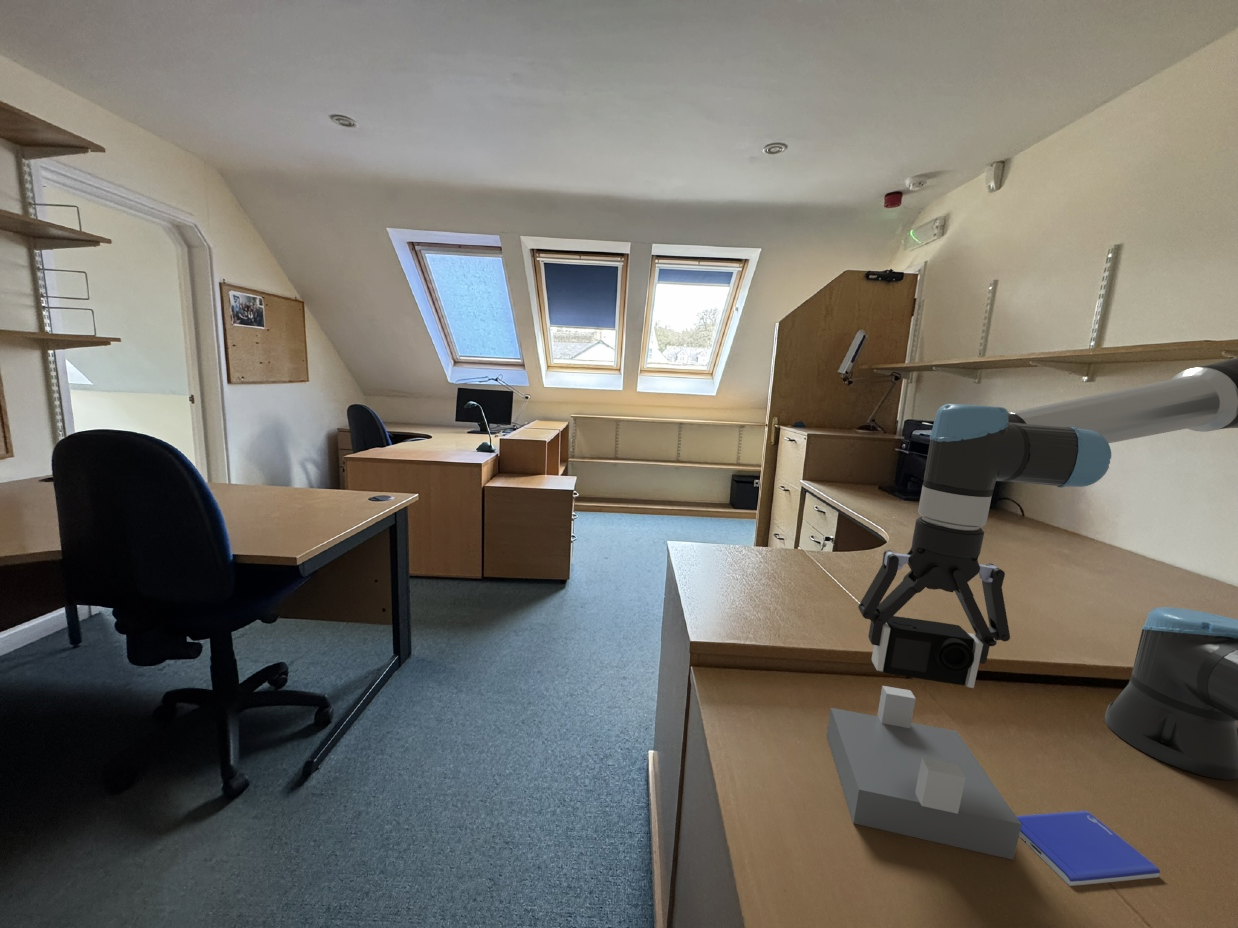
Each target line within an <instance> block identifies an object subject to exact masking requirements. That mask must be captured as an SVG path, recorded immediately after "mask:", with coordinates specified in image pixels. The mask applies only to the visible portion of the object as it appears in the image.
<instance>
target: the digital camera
mask: <svg viewBox="0 0 1238 928" xmlns="http://www.w3.org/2000/svg"><path fill="white" fill-rule="evenodd" d="M886 623H887V624H888V626H889V627H890V634H889V639H888V645H887V650H886V656H885V662H884V667H883V671H882V672H883V673H884V674H887V675H894V676H901V677H907V678H913V679H921V680H926V681H931V682H932V681H933V682H938V683H939V682H940V683H944V684H950V685H951V684H952V685H958V686H966V685H965V682H966V677H967V672H968V669H969V668H970V667H971V666H972V664H973V662H974V653H973V651H972V648H973V643H974V639H973V638H972V637H971V636H970V635H969V634H968V633H969V632H967V631H966V630H965V629H964V628H963V627H962V626H961V625H959V624H953V623H947V622H946V623H945V622H939V621H932V620H926V619H925V620H924V619H918V618H911V617H904V616H896V615H894V616H893V617H891V618H890V619H889V620H888V621H887V622H886Z"/></svg>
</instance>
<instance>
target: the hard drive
mask: <svg viewBox="0 0 1238 928" xmlns="http://www.w3.org/2000/svg"><path fill="white" fill-rule="evenodd" d="M1016 817H1017V818H1018V820H1019V821H1020V823H1021V824H1022V825H1021V829H1020V833H1019V836H1020V837H1021V838H1022V839H1023V840H1024V841H1026V843H1025V844H1026V845H1027V846H1028V847H1030V849H1031V850H1032V851H1034V852H1035V854H1037V856H1039V857H1040V858H1041V859H1042V860H1043V862H1045V863H1046V865H1048V867H1050V868H1051V869H1052V870H1053V871H1054V872H1055V873H1056V874H1057V875H1058V876H1059V877H1060V878H1061V879H1062V880H1063V881H1064V882H1065V883H1066V884H1067V885H1068V886H1069V887H1071V886H1073V887H1074V886H1083V885H1086V886H1087V885H1093V884H1094V885H1095V884H1103V883H1104V884H1105V883H1115V882H1125V881H1134V880H1144V879H1153V878H1160V874H1161V870H1160V869H1159V868H1158V867H1157V866H1156V865H1155V864H1154V863H1153V862H1152V861H1151V860H1150V859H1148V858H1147V857H1146V856H1145V855H1144V854H1142V853H1141V852H1139V851H1138V850H1137V849H1135V847H1133V846H1131V845H1130V843H1128V842H1127V841H1126V840H1124V838H1122V837H1120V836H1119V835H1118V834H1117V833H1115V832H1114V831H1113V830H1112V829H1111V828H1110V827H1108V826H1107V825H1106V824H1105V823H1103V822H1102V821H1100V820H1099V819H1098V818H1097V817H1096V816H1094V815H1093V814H1092V813H1091V812H1089V811H1088V810H1081V811H1080V810H1077V811H1066V812H1054V813H1039V814H1028V815H1027V814H1026V815H1016ZM1020 837H1019V838H1020ZM1021 838H1020V839H1021ZM1022 839H1021V840H1022ZM1024 841H1023V842H1024Z"/></svg>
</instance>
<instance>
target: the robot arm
mask: <svg viewBox="0 0 1238 928" xmlns="http://www.w3.org/2000/svg"><path fill="white" fill-rule="evenodd" d="M1224 429H1238V357H1236V358H1232V359H1227V360H1223V361H1218V362H1215V363H1211V364H1207V365H1206V364H1205V365H1202V366H1195V367H1192V368H1187V369H1185V370H1182V371H1180V372H1179V373H1177V374H1175V375H1174V376H1173V377H1171V379H1167V380H1163V381H1158V382H1153V383H1148V384H1142V385H1137V386H1133V387H1132V386H1131V387H1128V388H1122V389H1119V390H1114V391H1108V392H1104V393H1099V394H1098V393H1097V394H1094V395H1089V396H1085V397H1078V398H1075V399H1070V400H1065V401H1059V402H1055V403H1050V404H1045V405H1040V406H1035V407H1030V408H1025V409H1021V410H1016V411H1011V412H1009V411H1008V410H1007V408H1005V407H1000V406H989V405H988V406H987V405H974V404H960V403H946V404H943V405H942V406H940V407H939V408H938V410H937V411H936V415H935V419H934V421H933V425H932V429H931V431H930V432H931V433H930V435H929V439H930V442H929V446H928V452H927V458H926V463H925V468H924V469H925V470H924V474H923V475H924V477H923V483H922V487H921V493H920V498H919V504H918V509H917V513H918V514H919V515H920V516H919V517H918V518H916V519H915V525H914V530H913V536H912V540H911V541H912V542H911V548H910V550H909V551H908V552H907V553H897V552H893V551H892V550H891V549H886V550H885V551H884V552H883V556H882V563H881V564H882V565H881V566H880V568H879V569H878V572H877V573H876V574H875V577H874V578H873V580H872V582H871V583H870V585H869V587H868V589H867V591H866V592H865V594H864V596H863V597H862V599H861V601H860V602H859V605H858V606H857V609H858V611H859V612H860V614H861V616H862V618H864V619H865V620H869V621H870V624H869V630H868V636H867V637H868V640H869V642H870V644H871V645H873V649H872V655H871V662H872V664H873V666H874V668H875V669H876V671H878V672H883V667H884V662H885V656H886V650H887V645H888V639H889V634H890V627H889V626H888V624H887V623H886V622H887V621H888V620H889V619H890V618H891V617H893V616H896V614H897V613H898V611H900V610H901V609H902V608H903V607H904V606H906V604H907V603H908V602H909V601H910V600H911V599H912V598H914V596H915V595H916V594H918V593H921V592H922V591H924V589H925V588H926V589H927V590H942V591H945V592H947V593H948V592H949V593H955V595H956V597H957V599H958V601H959V603H960V605H961V607H962V609H963V611H964V613H965V615H966V618H967V619H968V622H969V623H970V626H971V628H972V630H973V633H970V632H967V633H968V634H969V635H970V636H971V637H972V638H973V639H974V643H973V648H972V651H973V653H974V662H973V664H972V666H971V667H970V668H969V669H968V672H967V677H966V682H965V685H964V686H966V687H967V688H971V689H974V688H975V683H976V679H977V674H978V669H979V666H980V664H982V665H984V664H985V663H986V662H987V661H988V657H989V652H990V647H995V646H996V645H997V641H1002V642H1008V641H1010V639H1011V634H1010V628H1009V623H1008V616H1007V611H1006V604H1005V600H1004V599H1005V598H1004V592H1003V584H1004V580H1005V575H1006V574H1005V573H1006V572H1005V571H1004V570H1002V569H1001V568H999V567H998V566H997V565H995V564H994V563H991V562H990V563H987V564H980V563H979V557H980V555H981V550H982V545H983V541H984V537H985V536H984V535H985V531H984V530H983V529H982V527H984V526H986V525H987V522H988V517H989V511H990V507H991V500H992V496H993V494H994V489H995V485H996V482H1005V483H1006V482H1013V483H1019V484H1020V483H1021V484H1022V483H1023V484H1032V485H1043V486H1050V487H1051V486H1054V487H1057V488H1065V487H1072V488H1074V487H1075V488H1081V487H1082V488H1084V487H1088V486H1091V485H1094V484H1095V483H1097V482H1099V481H1100V480H1101V479H1102V478H1103V477H1104V476H1105V475H1106V474H1107V472H1108V471H1109V469H1110V464H1111V459H1112V450H1111V446H1110V444H1112V443H1118V442H1123V441H1129V440H1134V439H1139V438H1144V437H1150V436H1154V435H1159V434H1166V433H1171V432H1175V431H1181V430H1190V431H1194V432H1200V433H1201V432H1204V433H1205V432H1206V433H1207V432H1212V431H1213V432H1214V431H1217V430H1218V431H1219V430H1224ZM904 565H908V567H909V568H910V570H909V572H907V573H906V574H905V575H904V576H903V579H902V581H901V582H900V583H899V584H898V585H897V586H896V587H895V588H894V589H893V590H892V591H891V592H890V593H888V595H887V596H886V597H885V595H886V593H887V592H888V590H889V588H890V586H891V585H892V583H893V582H894V580H895V578H896V575H897V572H898V571H899V570H901V569H902V568H903V567H904ZM976 576H979V577H978V578H979V579H981V585H982V590H983V597H984V602H985V608H986V613H987V620H988V624H989V626H988V624H987V622H986V620H985V618H984V616H983V614H982V612H981V610H980V608H979V605H978V604H977V601H976V599H975V597H974V593H973V591H972V590H971V587H970V585H969V582H970V581H971V580H972V579H974V578H975V577H976ZM884 597H885V598H884ZM1136 650H1137V651H1136V655H1135V659H1134V663H1133V668H1132V671H1131V676H1130V679H1129V681H1128V683H1127V685H1126V686H1125V688H1124V689H1122V691H1121V692H1120V694H1119V695H1118V696H1117V697H1116V698H1115V700H1113V701H1111V702H1110V703H1109V704H1108V706H1107V708H1106V710H1105V715H1104V721H1105V724H1106V725H1107V727H1108V728H1109V729H1110V730H1111V731H1112V732H1113V733H1114V734H1115V735H1117V737H1119V738H1121V740H1123V741H1125V742H1126V743H1128V744H1129V745H1131V746H1132V747H1134V748H1136V749H1138V751H1141V752H1143V753H1144V754H1147V755H1148V756H1150V757H1152V758H1155V759H1157V760H1158V761H1161V762H1163V763H1165V764H1168V765H1171V766H1172V767H1175V768H1178V769H1181V770H1183V771H1187V772H1189V773H1192V774H1194V775H1195V774H1196V775H1198V776H1199V775H1200V776H1203V777H1207V778H1211V779H1217V780H1227V781H1228V780H1236V779H1238V619H1237V618H1231V617H1229V616H1228V617H1227V616H1224V615H1219V614H1214V613H1210V612H1206V611H1205V612H1204V611H1200V610H1194V609H1186V608H1180V607H1170V606H1165V607H1163V606H1162V607H1157V608H1156V607H1155V608H1154V609H1152V610H1150V611H1149V613H1148V614H1147V617H1146V620H1145V623H1144V625H1143V626H1142V627H1141V633H1140V637H1139V642H1138V645H1137V649H1136Z"/></svg>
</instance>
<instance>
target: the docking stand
mask: <svg viewBox="0 0 1238 928" xmlns="http://www.w3.org/2000/svg"><path fill="white" fill-rule="evenodd" d="M880 691H881V692H880V698H879V702H878V703H879V704H878V711H877V714H876V715H871V714H867V713H860V712H856V711H850V710H845V709H840V708H835V707H830V711H829V718H828V724H827V731H826V738H827V739H826V740H827V741H828V744H829V747H830V748H829V749H830V751H831V754H832V757H833V761H834V762H833V763H834V765H835V769H836V770H837V771H836V772H837V773H838V774H837V775H838V778H839V780H840V781H839V782H840V785H841V787H842V791H843V793H844V794H843V795H844V797H845V801H846V804H847V807H848V810H849V815H850V817H851V820H852V821H851V822H852V824H855V825H858V826H864V827H868V828H871V829H872V828H873V829H877V830H882V831H886V832H890V833H894V834H897V835H903V836H907V837H912V838H916V839H921V840H925V841H930V842H934V843H937V844H942V845H947V846H952V847H955V848H959V849H964V850H969V851H973V852H978V853H982V854H986V855H990V856H995V857H1000V858H1003V859H1004V858H1005V859H1009V860H1014V857H1015V854H1016V849H1017V845H1018V841H1019V838H1020V837H1019V833H1020V829H1021V825H1022V824H1021V823H1020V821H1019V820H1018V818H1017V817H1016V816H1017V815H1016V814H1015V812H1014V811H1013V810H1012V809H1011V808H1012V807H1010V805H1009V804H1008V802H1007V801H1006V800H1005V798H1004V797H1003V795H1002V794H1001V793H1000V791H999V789H998V788H997V787H996V785H995V784H994V782H993V780H991V778H990V776H989V775H988V774H987V773H986V770H985V769H984V768H983V766H982V765H981V764H980V762H979V761H978V759H977V758H976V757H975V754H974V753H973V752H972V750H971V749H970V748H969V746H968V745H967V743H966V742H965V740H964V739H963V737H962V736H961V735H960V733H959V732H958V730H953V729H948V728H942V727H936V726H932V725H926V724H920V723H915V722H913V715H914V711H915V704H916V701H917V700H916V697H915V695H914V693H913V691H912V690H909V689H903V688H899V687H892V686H888V685H887V686H886V685H881V690H880Z"/></svg>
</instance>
